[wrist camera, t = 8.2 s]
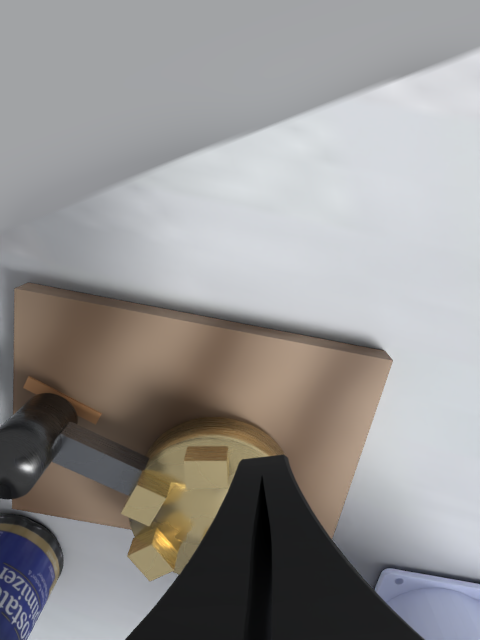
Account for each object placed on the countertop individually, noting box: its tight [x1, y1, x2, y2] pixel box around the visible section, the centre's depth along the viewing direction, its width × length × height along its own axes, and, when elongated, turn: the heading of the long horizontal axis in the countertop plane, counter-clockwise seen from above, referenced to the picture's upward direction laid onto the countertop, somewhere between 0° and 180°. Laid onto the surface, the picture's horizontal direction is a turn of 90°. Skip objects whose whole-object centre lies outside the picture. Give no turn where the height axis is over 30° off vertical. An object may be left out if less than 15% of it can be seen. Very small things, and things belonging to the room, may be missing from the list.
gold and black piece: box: [0, 393, 286, 581], centre depth 19 cm, size 14×8×5 cm, turn 62°
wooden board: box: [12, 283, 393, 539], centre depth 21 cm, size 18×13×1 cm
